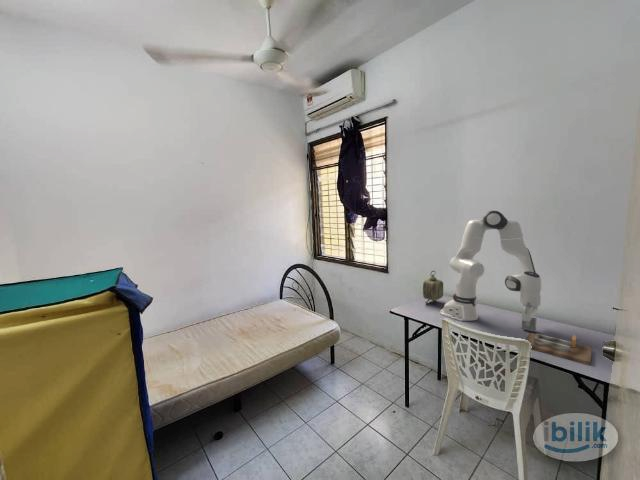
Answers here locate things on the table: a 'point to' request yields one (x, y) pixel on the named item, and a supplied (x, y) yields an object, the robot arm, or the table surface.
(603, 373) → the table surface
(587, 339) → the table surface
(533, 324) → the module
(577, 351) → the rail base
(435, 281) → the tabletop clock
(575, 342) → the latch gate
